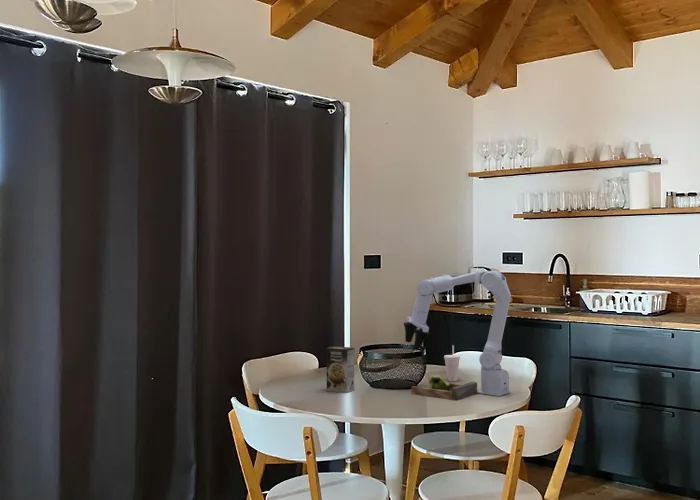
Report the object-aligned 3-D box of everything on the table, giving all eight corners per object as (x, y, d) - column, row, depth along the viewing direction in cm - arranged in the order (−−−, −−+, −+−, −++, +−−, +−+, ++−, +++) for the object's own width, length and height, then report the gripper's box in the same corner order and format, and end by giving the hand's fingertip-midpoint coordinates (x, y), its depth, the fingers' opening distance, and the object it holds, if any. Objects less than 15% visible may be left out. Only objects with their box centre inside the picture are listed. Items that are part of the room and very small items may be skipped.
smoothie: (455, 382, 267) (455, 346, 267) (441, 380, 271) (440, 345, 271) (463, 379, 272) (462, 344, 272) (449, 378, 276) (448, 343, 276)
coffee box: (325, 391, 255) (325, 347, 255) (334, 388, 260) (333, 345, 260) (347, 393, 250) (346, 349, 250) (355, 389, 256) (354, 346, 256)
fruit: (440, 400, 243) (435, 378, 242) (422, 398, 250) (418, 376, 250) (458, 391, 248) (453, 370, 248) (440, 389, 256) (435, 369, 255)
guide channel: (477, 393, 246) (477, 382, 246) (456, 400, 235) (456, 388, 235) (433, 387, 258) (432, 376, 258) (411, 393, 248) (411, 382, 248)
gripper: (403, 304, 263) (395, 337, 264) (420, 314, 250) (411, 349, 251) (419, 306, 266) (411, 340, 267) (436, 316, 252) (428, 351, 254)
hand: (412, 344), depth 259 cm, fingers open, 7 cm apart
